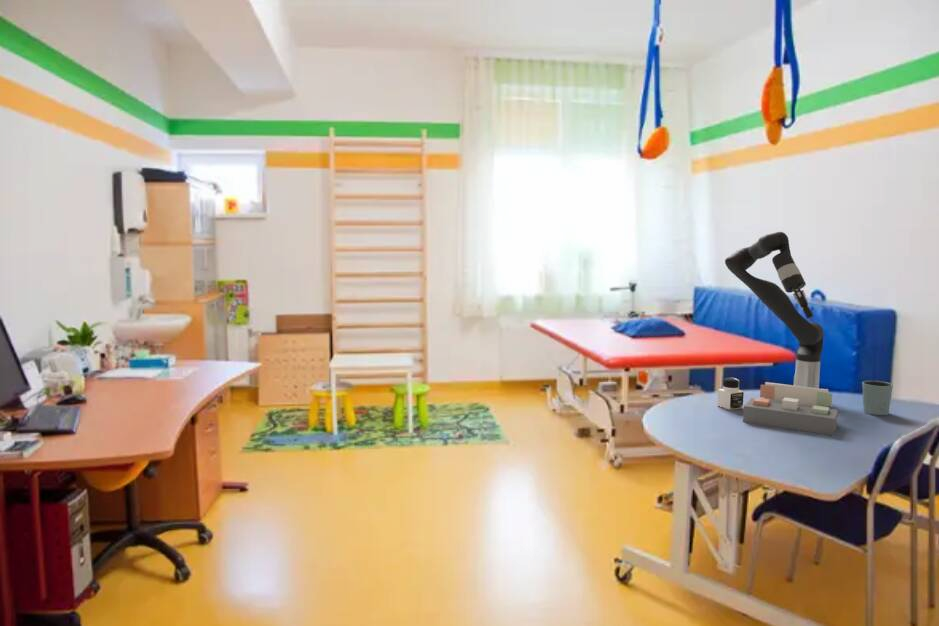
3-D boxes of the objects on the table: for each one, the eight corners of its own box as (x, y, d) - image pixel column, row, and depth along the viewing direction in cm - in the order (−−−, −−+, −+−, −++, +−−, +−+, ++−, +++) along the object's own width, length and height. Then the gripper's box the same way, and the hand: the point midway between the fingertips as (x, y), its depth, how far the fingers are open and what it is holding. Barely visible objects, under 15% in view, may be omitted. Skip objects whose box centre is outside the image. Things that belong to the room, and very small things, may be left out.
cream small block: (781, 411, 242) (782, 400, 241) (783, 408, 246) (784, 397, 245) (796, 414, 239) (797, 402, 239) (798, 410, 243) (799, 399, 243)
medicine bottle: (730, 410, 261) (731, 381, 260) (716, 406, 268) (718, 377, 266) (743, 408, 264) (744, 379, 263) (729, 404, 270) (731, 375, 269)
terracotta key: (752, 412, 248) (753, 400, 247) (755, 409, 252) (756, 397, 251) (766, 414, 245) (767, 402, 244) (769, 411, 249) (770, 399, 248)
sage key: (811, 420, 237) (812, 408, 236) (813, 417, 241) (813, 405, 240) (826, 422, 234) (827, 410, 233) (828, 419, 238) (829, 407, 237)
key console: (742, 421, 246) (744, 390, 244) (753, 409, 261) (754, 380, 260) (832, 435, 229) (835, 402, 227) (838, 422, 245) (840, 391, 243)
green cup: (893, 417, 251) (895, 387, 249) (863, 414, 254) (865, 385, 252) (886, 410, 260) (888, 381, 258) (857, 408, 263) (859, 379, 262)
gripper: (783, 286, 258) (801, 325, 251) (778, 277, 247) (798, 317, 241) (802, 278, 255) (822, 317, 248) (799, 268, 244) (819, 309, 237)
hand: (810, 317), depth 244 cm, fingers closed
